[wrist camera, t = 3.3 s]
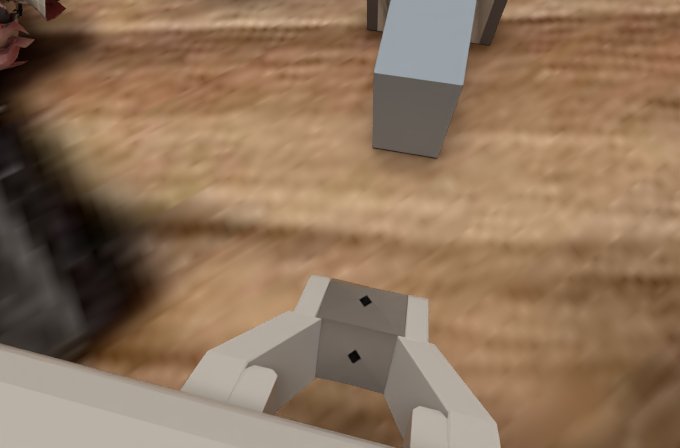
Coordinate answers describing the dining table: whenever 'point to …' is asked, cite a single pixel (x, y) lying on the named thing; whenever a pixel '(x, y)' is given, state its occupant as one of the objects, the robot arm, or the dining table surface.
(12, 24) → the toy
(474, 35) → the frame
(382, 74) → the grey rectangular box
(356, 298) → the robot arm
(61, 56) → the dining table surface
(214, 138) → the dining table surface
